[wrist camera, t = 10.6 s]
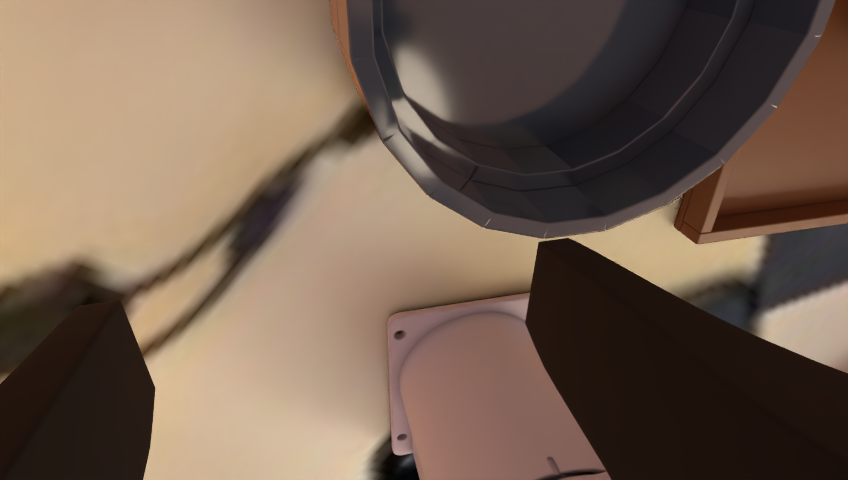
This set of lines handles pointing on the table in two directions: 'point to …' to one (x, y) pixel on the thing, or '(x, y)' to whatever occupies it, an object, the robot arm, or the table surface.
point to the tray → (785, 158)
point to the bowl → (570, 98)
